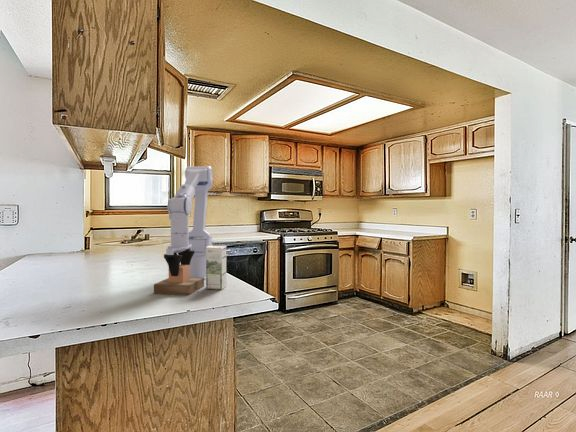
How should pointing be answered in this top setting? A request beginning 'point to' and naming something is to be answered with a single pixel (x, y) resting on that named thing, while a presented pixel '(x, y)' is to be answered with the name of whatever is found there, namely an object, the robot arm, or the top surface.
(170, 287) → the walnut base
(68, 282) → the top surface
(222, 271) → the syrup box
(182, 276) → the cube
